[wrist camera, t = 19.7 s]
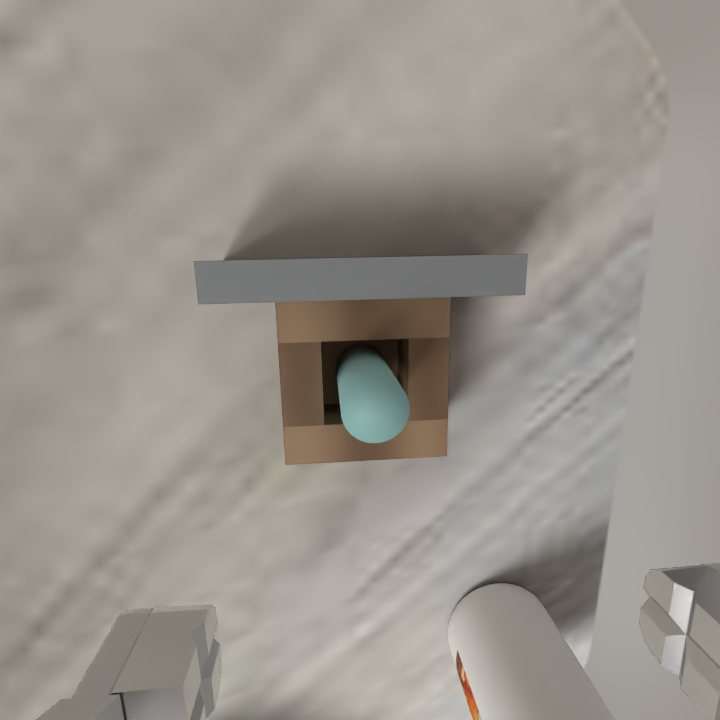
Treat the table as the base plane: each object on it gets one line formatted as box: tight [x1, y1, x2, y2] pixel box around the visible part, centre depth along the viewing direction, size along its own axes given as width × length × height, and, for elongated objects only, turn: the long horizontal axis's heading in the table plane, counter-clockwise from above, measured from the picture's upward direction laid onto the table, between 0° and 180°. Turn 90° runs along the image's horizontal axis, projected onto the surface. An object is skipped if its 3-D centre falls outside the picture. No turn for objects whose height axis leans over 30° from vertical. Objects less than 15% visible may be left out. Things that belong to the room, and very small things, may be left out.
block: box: [275, 297, 451, 465], centre depth 26 cm, size 9×9×5 cm
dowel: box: [336, 344, 410, 443], centre depth 23 cm, size 3×3×8 cm
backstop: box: [194, 254, 528, 304], centre depth 24 cm, size 16×2×6 cm, turn 91°
